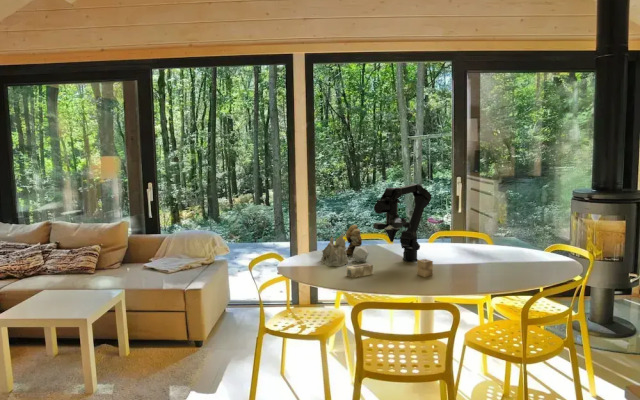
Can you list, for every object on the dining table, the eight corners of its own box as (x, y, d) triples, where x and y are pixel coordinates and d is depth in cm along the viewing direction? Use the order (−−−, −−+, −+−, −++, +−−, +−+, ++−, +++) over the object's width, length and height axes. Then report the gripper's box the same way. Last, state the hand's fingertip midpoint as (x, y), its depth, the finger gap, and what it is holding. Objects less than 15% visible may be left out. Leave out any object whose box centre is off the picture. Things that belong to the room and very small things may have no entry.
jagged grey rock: (326, 257, 254) (326, 231, 251) (353, 261, 246) (353, 234, 243) (312, 265, 240) (312, 237, 238) (340, 269, 232) (340, 241, 230)
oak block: (425, 273, 218) (425, 258, 218) (432, 275, 214) (432, 260, 213) (417, 274, 216) (417, 259, 215) (424, 276, 212) (424, 262, 211)
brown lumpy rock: (367, 257, 254) (367, 226, 253) (346, 257, 254) (346, 227, 252) (364, 250, 272) (364, 222, 271) (344, 250, 272) (344, 222, 270)
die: (363, 265, 239) (372, 249, 241) (349, 256, 240) (358, 241, 242) (362, 266, 247) (370, 251, 249) (348, 258, 248) (357, 243, 250)
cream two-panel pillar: (367, 263, 221) (346, 266, 215) (372, 265, 217) (352, 268, 211) (367, 272, 222) (346, 276, 216) (372, 274, 218) (352, 278, 212)
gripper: (382, 214, 223) (382, 246, 224) (415, 212, 229) (415, 243, 230) (372, 212, 233) (372, 242, 235) (405, 210, 239) (404, 239, 241)
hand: (391, 241), depth 235 cm, fingers closed
